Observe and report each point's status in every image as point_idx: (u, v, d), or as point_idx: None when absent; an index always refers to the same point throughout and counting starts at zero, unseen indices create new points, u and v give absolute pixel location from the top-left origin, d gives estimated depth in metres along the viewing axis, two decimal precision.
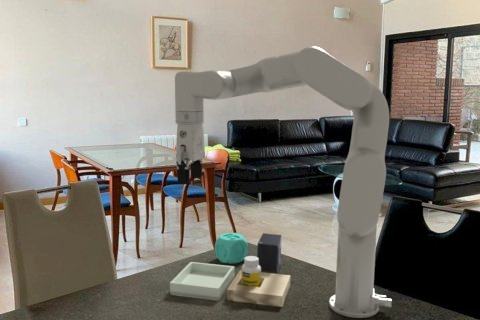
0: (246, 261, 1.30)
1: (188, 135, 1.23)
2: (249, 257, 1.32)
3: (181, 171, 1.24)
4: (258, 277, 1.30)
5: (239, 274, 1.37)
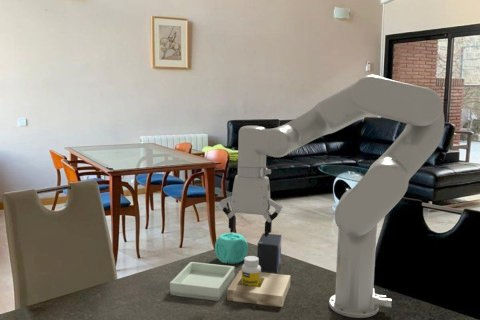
0: (246, 261, 1.30)
1: (269, 187, 1.28)
2: (249, 257, 1.32)
3: (271, 223, 1.28)
4: (258, 277, 1.30)
5: (239, 274, 1.37)
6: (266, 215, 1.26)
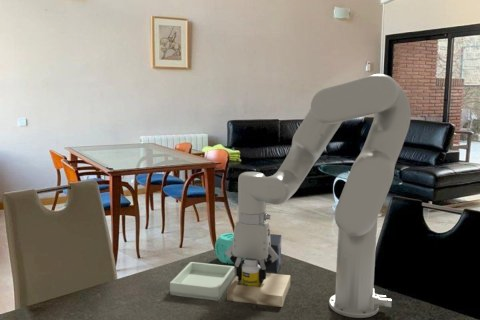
0: (246, 261, 1.30)
1: (269, 232, 1.30)
2: None
3: (265, 270, 1.30)
4: (258, 277, 1.30)
5: None
6: (262, 262, 1.29)
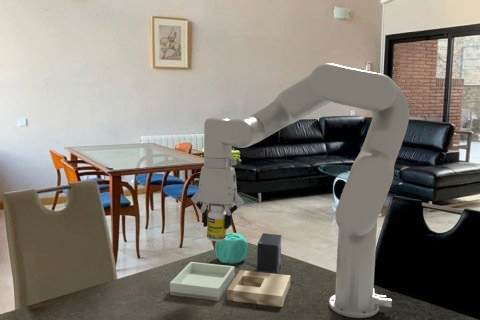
0: (212, 207, 1.30)
1: (235, 178, 1.30)
2: None
3: (230, 216, 1.30)
4: (223, 223, 1.30)
5: (239, 274, 1.37)
6: (227, 208, 1.29)
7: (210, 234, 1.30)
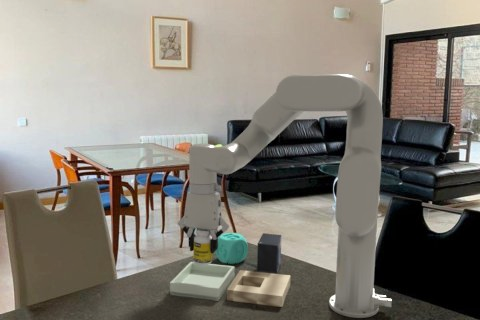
0: (198, 231, 1.32)
1: None
2: None
3: (216, 240, 1.32)
4: (209, 247, 1.32)
5: (239, 274, 1.37)
6: (213, 232, 1.31)
7: (197, 258, 1.32)
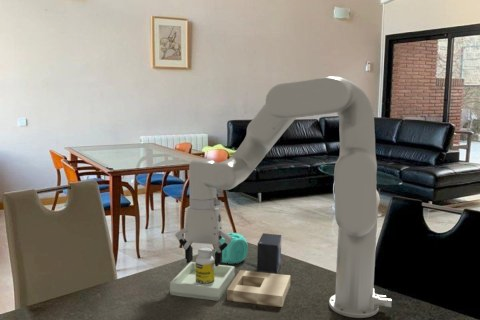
0: (199, 253, 1.33)
1: None
2: (203, 248, 1.35)
3: (221, 253, 1.33)
4: (211, 268, 1.33)
5: (239, 274, 1.37)
6: (216, 246, 1.31)
7: (199, 279, 1.33)
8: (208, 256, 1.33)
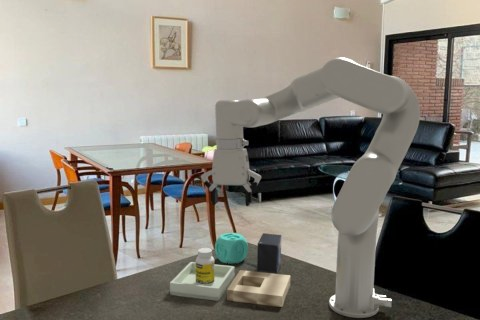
0: (199, 253, 1.33)
1: None
2: (203, 248, 1.35)
3: (251, 193, 1.32)
4: (211, 268, 1.33)
5: (239, 274, 1.37)
6: (246, 185, 1.31)
7: (199, 279, 1.33)
8: (208, 256, 1.33)
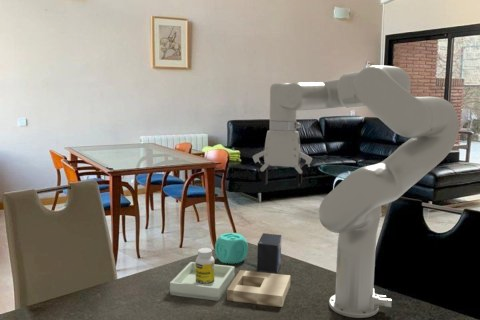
0: (199, 253, 1.33)
1: (299, 141, 1.36)
2: (203, 248, 1.35)
3: (301, 174, 1.36)
4: (211, 268, 1.33)
5: (239, 274, 1.37)
6: (297, 167, 1.34)
7: (199, 279, 1.33)
8: (208, 256, 1.33)
